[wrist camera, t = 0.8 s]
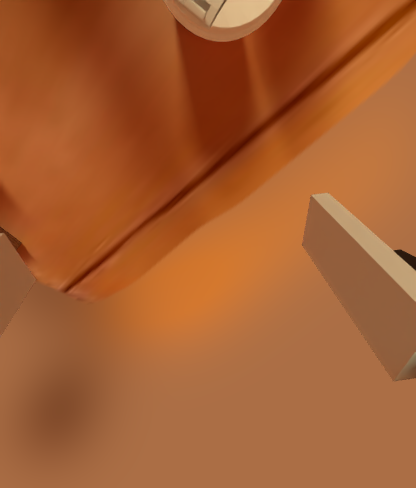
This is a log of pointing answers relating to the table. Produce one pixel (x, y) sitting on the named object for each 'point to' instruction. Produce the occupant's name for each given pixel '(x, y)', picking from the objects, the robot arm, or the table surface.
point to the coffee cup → (222, 16)
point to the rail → (11, 239)
